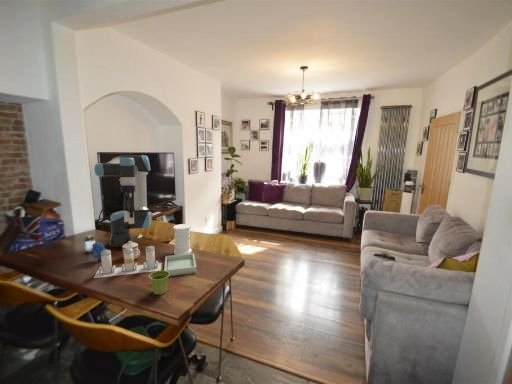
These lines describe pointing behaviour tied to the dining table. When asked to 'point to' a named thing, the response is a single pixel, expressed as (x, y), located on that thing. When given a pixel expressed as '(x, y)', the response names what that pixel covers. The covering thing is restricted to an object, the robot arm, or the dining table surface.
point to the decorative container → (182, 239)
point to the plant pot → (159, 281)
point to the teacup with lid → (135, 249)
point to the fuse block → (109, 271)
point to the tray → (180, 264)
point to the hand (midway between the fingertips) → (129, 222)
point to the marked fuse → (129, 259)
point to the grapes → (97, 250)
